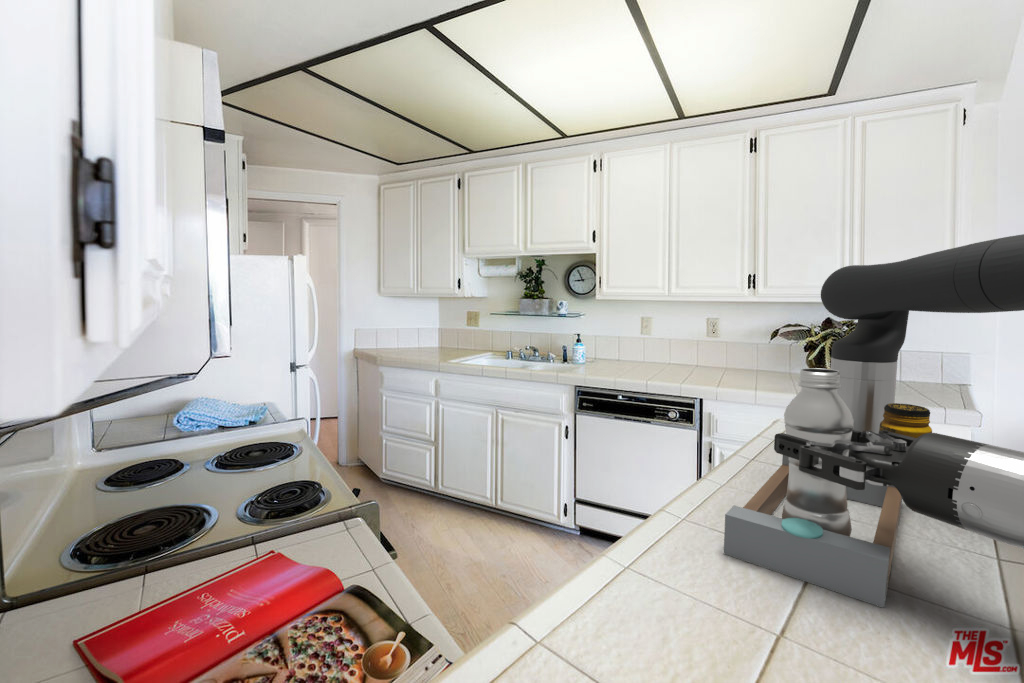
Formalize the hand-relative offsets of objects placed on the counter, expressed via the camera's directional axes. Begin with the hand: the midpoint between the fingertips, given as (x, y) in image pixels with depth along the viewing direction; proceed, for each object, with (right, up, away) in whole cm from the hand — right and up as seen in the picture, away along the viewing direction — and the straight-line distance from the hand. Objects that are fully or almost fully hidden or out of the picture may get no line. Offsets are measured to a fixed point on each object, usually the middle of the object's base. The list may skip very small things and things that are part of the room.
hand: (801, 437), depth 55 cm
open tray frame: (+5, -12, +4) cm, 13 cm away
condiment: (+24, -11, +17) cm, 31 cm away
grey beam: (+13, -11, +14) cm, 22 cm away
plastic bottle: (+1, -12, -1) cm, 12 cm away
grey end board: (-4, -13, -6) cm, 14 cm away
